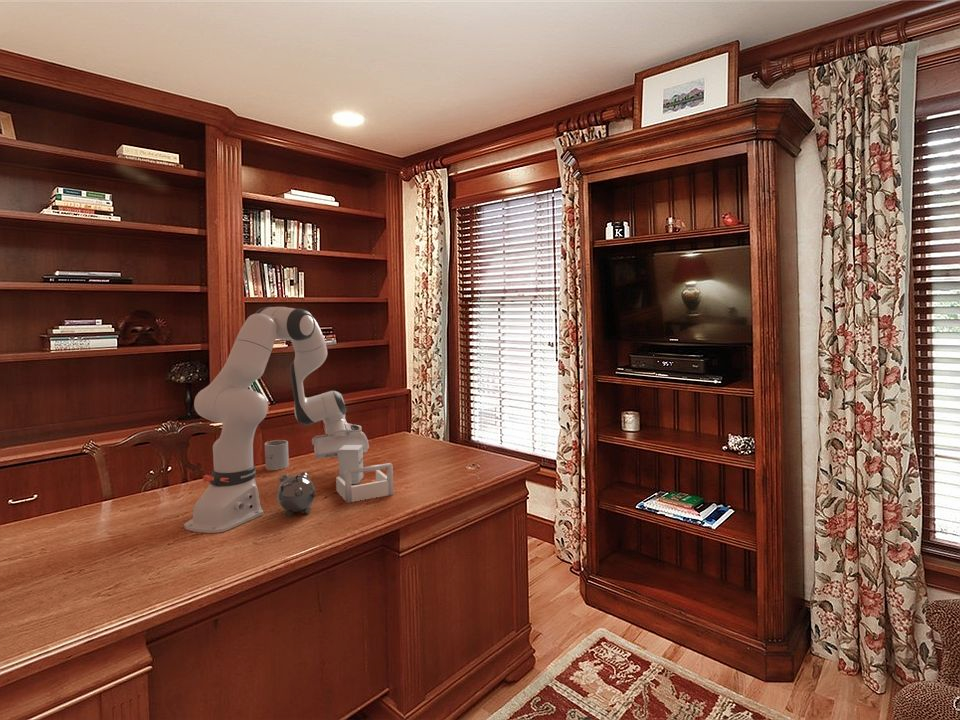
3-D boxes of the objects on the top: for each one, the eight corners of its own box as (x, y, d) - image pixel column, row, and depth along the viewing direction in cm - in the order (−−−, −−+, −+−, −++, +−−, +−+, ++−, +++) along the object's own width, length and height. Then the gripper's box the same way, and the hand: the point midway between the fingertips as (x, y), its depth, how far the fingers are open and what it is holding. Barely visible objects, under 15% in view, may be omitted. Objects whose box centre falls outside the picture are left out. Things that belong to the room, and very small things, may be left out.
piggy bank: (311, 501, 174) (310, 466, 172) (319, 517, 160) (318, 480, 159) (275, 506, 169) (273, 471, 168) (280, 523, 155) (278, 485, 154)
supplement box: (359, 484, 190) (358, 449, 189) (338, 484, 190) (337, 449, 189) (364, 477, 197) (363, 444, 196) (344, 477, 197) (343, 444, 196)
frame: (394, 494, 179) (393, 463, 178) (346, 503, 171) (345, 471, 170) (380, 483, 191) (379, 453, 190) (335, 491, 183) (334, 460, 182)
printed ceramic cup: (291, 468, 209) (290, 443, 208) (268, 472, 205) (267, 446, 204) (283, 460, 219) (282, 437, 218) (261, 464, 215) (260, 440, 214)
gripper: (311, 431, 198) (319, 463, 191) (365, 425, 209) (373, 455, 201) (309, 440, 203) (316, 472, 195) (361, 434, 213) (370, 464, 205)
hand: (346, 464), depth 198 cm, fingers closed
